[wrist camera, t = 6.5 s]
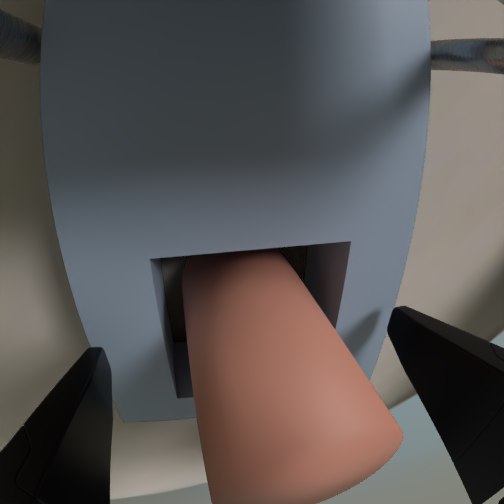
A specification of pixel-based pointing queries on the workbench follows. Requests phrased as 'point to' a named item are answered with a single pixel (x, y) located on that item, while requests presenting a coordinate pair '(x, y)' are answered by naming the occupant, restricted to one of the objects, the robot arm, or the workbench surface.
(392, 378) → the workbench surface
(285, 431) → the peg
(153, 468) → the workbench surface
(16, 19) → the awning
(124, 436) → the workbench surface
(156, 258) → the socket board
